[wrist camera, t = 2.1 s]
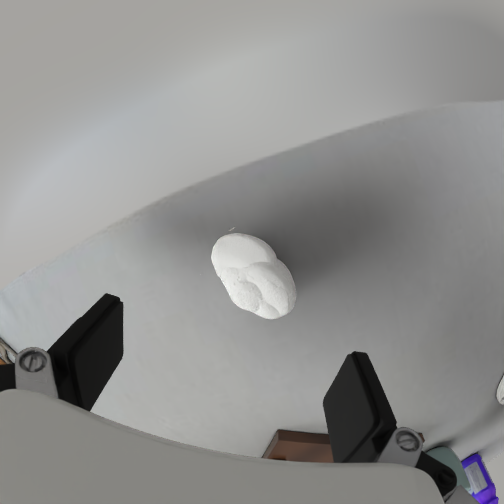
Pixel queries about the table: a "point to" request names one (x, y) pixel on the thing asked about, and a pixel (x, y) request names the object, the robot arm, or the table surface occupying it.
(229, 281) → the dumpling
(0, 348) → the nutcracker
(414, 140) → the table surface
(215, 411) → the table surface
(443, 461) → the cup
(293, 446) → the bread board
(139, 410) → the table surface
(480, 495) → the bottle
